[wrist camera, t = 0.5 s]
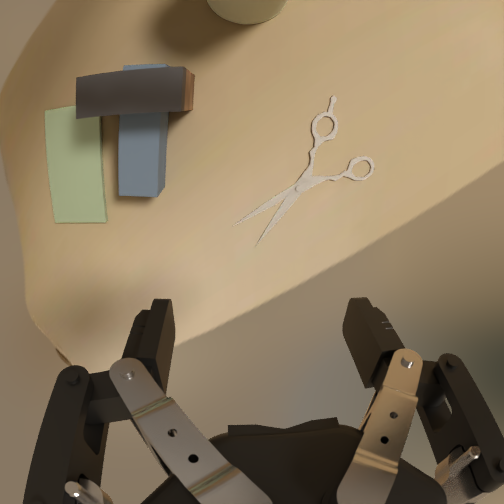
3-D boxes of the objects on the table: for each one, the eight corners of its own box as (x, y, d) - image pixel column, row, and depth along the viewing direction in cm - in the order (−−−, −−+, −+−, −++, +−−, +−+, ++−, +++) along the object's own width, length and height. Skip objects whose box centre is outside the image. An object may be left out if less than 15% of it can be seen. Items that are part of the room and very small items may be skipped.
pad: (47, 110, 28) (44, 110, 28) (101, 102, 29) (99, 102, 29) (57, 220, 35) (55, 222, 35) (107, 220, 36) (106, 222, 35)
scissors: (386, 161, 35) (271, 264, 40) (383, 159, 35) (271, 261, 41) (334, 94, 31) (210, 211, 36) (332, 94, 31) (211, 209, 37)
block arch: (109, 80, 28) (76, 77, 20) (194, 75, 29) (183, 66, 21) (108, 113, 30) (75, 119, 22) (192, 109, 31) (180, 111, 23)
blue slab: (136, 69, 28) (123, 65, 24) (173, 68, 29) (165, 64, 25) (130, 184, 34) (118, 195, 31) (165, 186, 35) (157, 197, 31)
